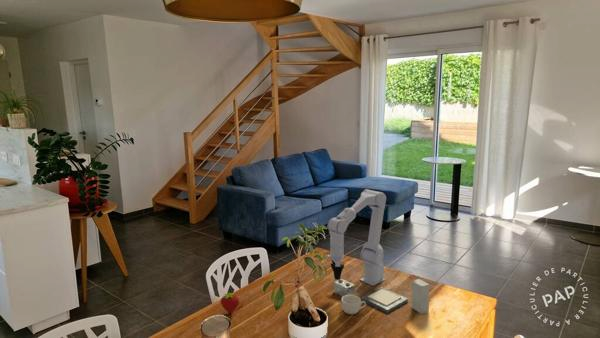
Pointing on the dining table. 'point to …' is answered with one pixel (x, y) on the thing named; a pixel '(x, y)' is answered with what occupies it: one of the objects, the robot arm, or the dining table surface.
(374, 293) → the stand
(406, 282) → the dining table surface
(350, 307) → the teacup
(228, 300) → the strawberry
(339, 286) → the block
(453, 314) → the dining table surface
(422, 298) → the skincare box
